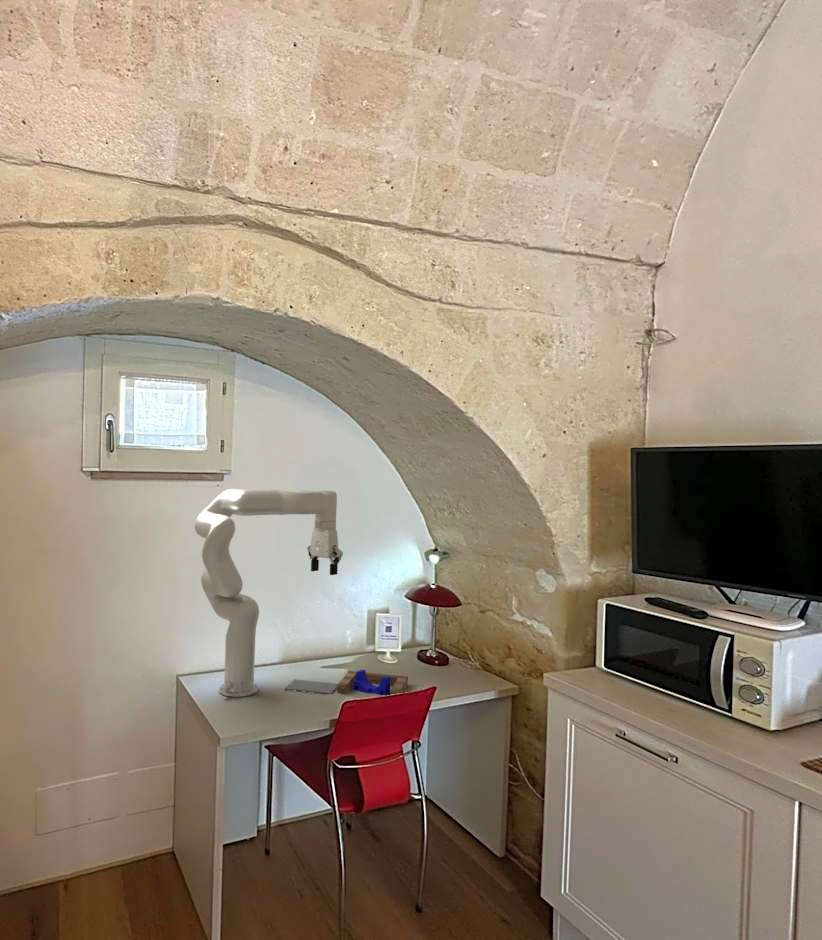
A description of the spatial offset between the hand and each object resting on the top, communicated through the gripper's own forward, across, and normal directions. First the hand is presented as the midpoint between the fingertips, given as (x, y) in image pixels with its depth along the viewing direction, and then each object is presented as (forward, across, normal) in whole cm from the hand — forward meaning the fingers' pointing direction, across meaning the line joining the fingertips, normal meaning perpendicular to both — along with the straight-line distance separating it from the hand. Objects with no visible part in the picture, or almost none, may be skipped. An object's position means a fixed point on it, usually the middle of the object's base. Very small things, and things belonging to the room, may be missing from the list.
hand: (324, 572), depth 261 cm
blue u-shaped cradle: (+37, +26, -2) cm, 45 cm away
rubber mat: (+36, +10, -13) cm, 40 cm away
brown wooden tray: (+36, +25, +1) cm, 44 cm away
